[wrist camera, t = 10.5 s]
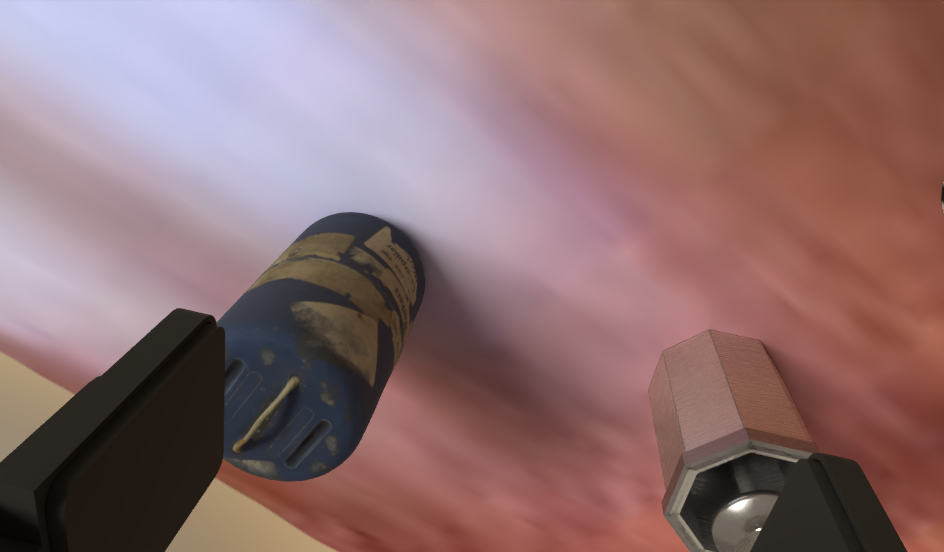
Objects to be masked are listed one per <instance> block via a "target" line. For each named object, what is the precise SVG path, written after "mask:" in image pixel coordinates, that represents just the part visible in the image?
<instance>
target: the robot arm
mask: <svg viewBox="0 0 944 552" xmlns="http://www.w3.org/2000/svg"><path fill="white" fill-rule="evenodd" d="M224 397H225V330H224V328H223V327H220V326H217V325H216V320H215V318H214V317H213V316H212V315H208V314H203V313H199V312H195V311H190V310H186V309H181V308H178V309H175V310H174V311H172V312H171V313H170V314H169V315H168V316H167V317H165V318H164V319H163V320H162V321H161V322H160V323H159V324H158V325H157V326H156V327H154V328H153V329H152V330H151V331H150V332H149V333H148V334H147V335H146V336H145V337H144V338H142V339H141V340H140V341H139V342H138V343H137V344H136V345H135V346H134V347H133V348H131V349H130V350H129V351H128V352H127V353H126V354H125V355H124V356H123V357H122V358H120V359H119V360H118V361H117V362H116V363H115V364H114V365H113V366H112V367H111V368H109V369H108V370H107V371H106V372H105V373H104V374H103V375H102V376H99V377H96V378H95V379H94V380H92V381H91V382H89V383H88V384H87V385H86V386H85V387H84V388H83V389H81V390H80V391H79V392H78V393H77V394H76V395H75V396H74V397H73V398H71V399H70V400H69V401H68V402H67V403H66V404H65V405H64V406H63V407H61V408H60V409H59V410H58V411H57V412H56V413H55V414H54V415H53V416H51V418H49V419H48V420H47V421H46V422H45V423H44V424H43V425H41V426H40V428H38V429H37V430H36V431H35V432H34V433H33V434H31V435H30V436H29V437H28V438H27V439H26V440H25V441H24V442H23V443H22V444H20V445H19V446H18V447H17V448H16V449H15V450H14V451H13V452H12V453H10V454H9V455H8V456H7V457H6V458H5V459H4V460H3V461H2V462H0V552H165V550H166V549H167V547H168V546H169V544H170V543H171V541H172V540H173V539H174V537H175V536H176V534H177V533H178V531H179V530H180V528H181V526H182V525H183V524H184V522H185V521H186V519H187V518H188V516H189V515H190V513H191V512H192V510H193V509H194V507H195V506H196V504H197V503H198V501H199V500H200V498H201V497H202V495H203V494H204V493H205V491H206V490H207V488H208V487H209V485H210V484H211V482H212V480H213V479H214V478H215V476H216V474H217V473H218V471H219V468H220V466H221V463H222V459H223V454H224ZM750 552H907V550H906V548H905V547H904V545H903V543H902V541H901V539H900V538H899V536H898V534H897V532H896V530H895V529H894V527H893V525H892V523H891V521H890V520H889V518H888V516H887V514H886V512H885V511H884V509H883V507H882V505H881V503H880V502H879V500H878V498H877V496H876V494H875V493H874V491H873V489H872V487H871V485H870V484H869V482H868V480H867V478H866V476H865V475H864V473H863V471H862V469H861V467H860V466H859V465H858V463H857V462H855V461H853V460H850V459H845V458H841V457H837V456H832V455H828V454H823V453H819V452H817V453H813V454H812V455H810V456H809V458H808V459H800V460H798V461H797V462H796V464H795V465H794V467H793V469H792V471H791V473H790V475H789V477H788V479H787V481H786V483H785V485H784V487H783V489H782V491H781V492H780V494H779V496H778V498H777V500H776V502H775V504H774V506H773V508H772V510H771V512H770V514H769V516H768V518H767V520H766V521H765V523H764V525H763V527H762V529H761V531H760V533H759V535H758V537H757V539H756V541H755V543H754V545H753V547H752V549H751V551H750Z"/></svg>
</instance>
